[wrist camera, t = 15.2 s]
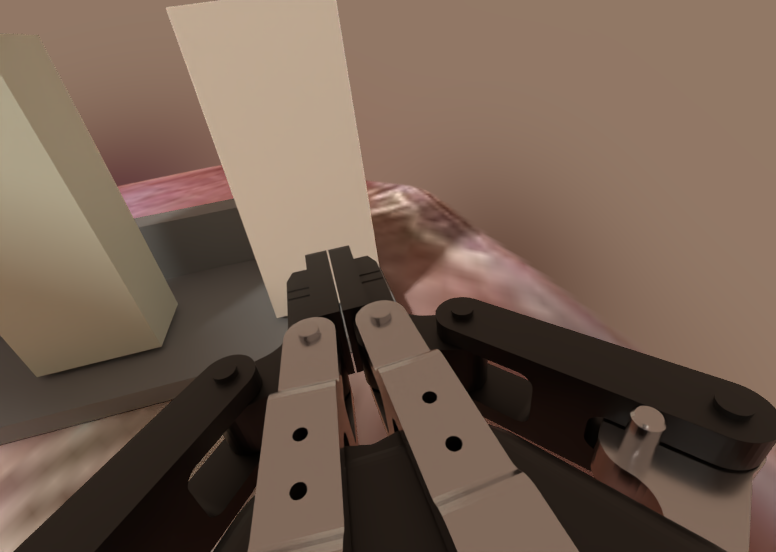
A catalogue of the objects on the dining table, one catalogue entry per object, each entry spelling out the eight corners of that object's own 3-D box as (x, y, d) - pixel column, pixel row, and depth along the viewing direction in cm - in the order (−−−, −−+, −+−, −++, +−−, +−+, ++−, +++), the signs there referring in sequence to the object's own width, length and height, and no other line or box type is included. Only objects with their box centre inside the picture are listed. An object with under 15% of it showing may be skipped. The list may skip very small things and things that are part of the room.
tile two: (161, 346, 20) (-25, 32, 13) (36, 377, 19) (-240, 60, 12) (179, 300, 24) (43, 35, 16) (74, 324, 23) (-119, 57, 16)
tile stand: (407, 337, 20) (396, 254, 18) (-303, 525, 16) (-458, 454, 14) (362, 235, 31) (351, 175, 29) (-71, 332, 27) (-131, 272, 24)
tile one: (383, 292, 22) (333, -15, 14) (276, 318, 21) (165, 7, 14) (368, 256, 26) (322, -3, 18) (276, 277, 25) (189, 15, 17)
